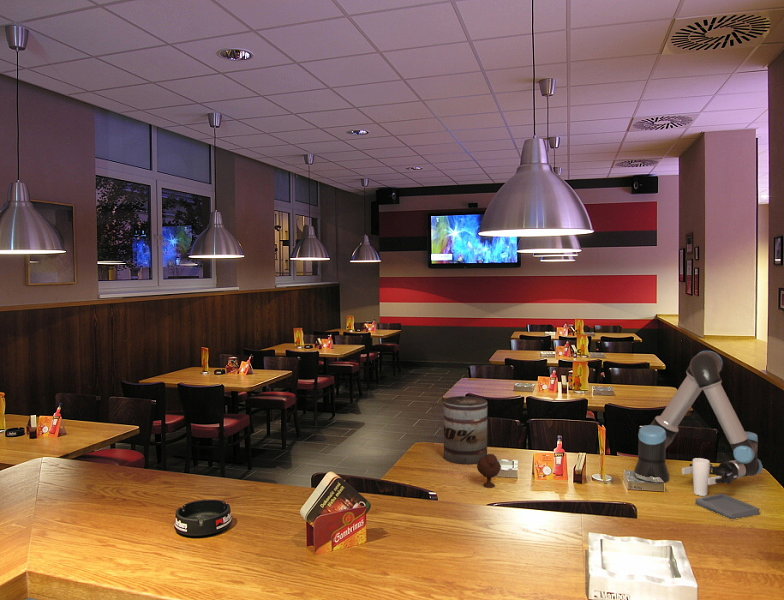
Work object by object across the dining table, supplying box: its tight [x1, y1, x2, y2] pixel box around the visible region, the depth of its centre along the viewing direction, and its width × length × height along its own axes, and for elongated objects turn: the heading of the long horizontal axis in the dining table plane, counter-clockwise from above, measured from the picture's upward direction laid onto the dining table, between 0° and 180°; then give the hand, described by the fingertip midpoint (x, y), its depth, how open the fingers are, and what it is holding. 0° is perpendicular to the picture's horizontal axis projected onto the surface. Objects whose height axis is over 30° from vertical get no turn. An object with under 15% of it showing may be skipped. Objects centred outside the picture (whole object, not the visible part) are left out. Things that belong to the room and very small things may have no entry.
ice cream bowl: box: [476, 453, 502, 489], centre depth 273 cm, size 11×11×15 cm
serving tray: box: [695, 493, 760, 520], centre depth 245 cm, size 17×15×2 cm
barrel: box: [443, 395, 488, 466], centre depth 313 cm, size 22×22×30 cm
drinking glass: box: [691, 457, 711, 497], centre depth 261 cm, size 7×7×15 cm
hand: (695, 476), depth 259 cm, fingers open, 13 cm apart
